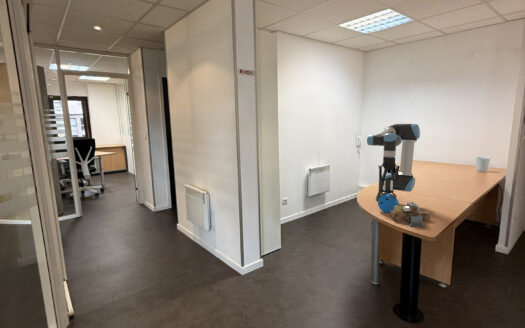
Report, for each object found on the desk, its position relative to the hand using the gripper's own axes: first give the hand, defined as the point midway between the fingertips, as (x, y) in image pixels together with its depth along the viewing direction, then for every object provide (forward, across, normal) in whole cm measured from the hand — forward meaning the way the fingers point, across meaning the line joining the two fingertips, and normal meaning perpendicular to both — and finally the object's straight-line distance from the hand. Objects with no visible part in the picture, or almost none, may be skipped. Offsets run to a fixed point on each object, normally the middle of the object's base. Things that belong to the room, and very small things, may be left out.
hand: (387, 189), depth 193 cm
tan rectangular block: (+16, +8, 0) cm, 17 cm away
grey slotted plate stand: (+21, +16, -10) cm, 28 cm away
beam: (+21, +16, 0) cm, 26 cm away
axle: (+16, +16, 0) cm, 22 cm away
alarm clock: (+21, +4, +14) cm, 26 cm away
